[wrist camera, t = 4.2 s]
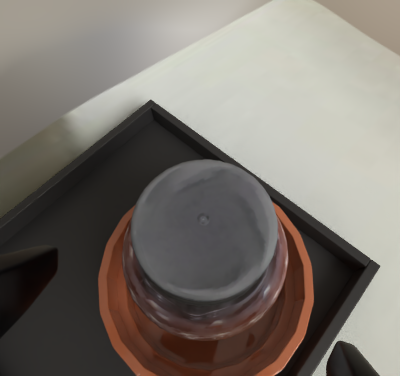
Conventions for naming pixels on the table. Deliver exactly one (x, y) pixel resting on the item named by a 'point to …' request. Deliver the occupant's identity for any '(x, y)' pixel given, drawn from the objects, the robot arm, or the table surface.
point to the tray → (103, 229)
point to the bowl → (217, 349)
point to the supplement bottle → (204, 251)
